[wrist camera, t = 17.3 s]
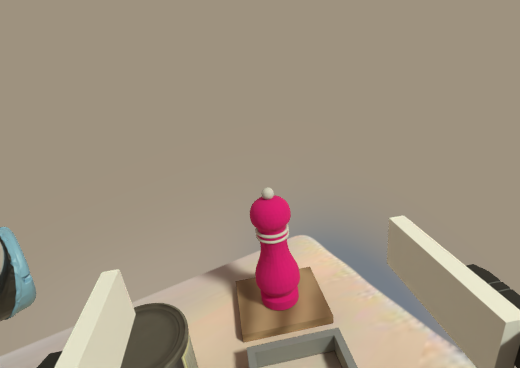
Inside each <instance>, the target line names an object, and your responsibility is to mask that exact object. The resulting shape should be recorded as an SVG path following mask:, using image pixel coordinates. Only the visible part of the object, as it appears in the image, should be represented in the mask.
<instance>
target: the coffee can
mask: <svg viewBox="0 0 520 368" xmlns="http://www.w3.org/2000/svg"><path fill="white" fill-rule="evenodd" d="M134 311H135V313H136V315H135V318H134V322H133V325H132V329H131V332H130V336H129V339H128V343H127V346H126V350H125V353H124V357H123V360H122V364H121V367H120V368H198V365H197V361H196V358H195V354H194V350H193V347H192V343H191V340H190V336H189V332H188V324H187V320H186V318H185V316H184V314H183V313H182V312H181V311H180V310H179V309H178V308H176V307H174V306H172V305H169V304H164V303H151V304H145V305H141V306H138V307H135V308H134Z"/></svg>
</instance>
